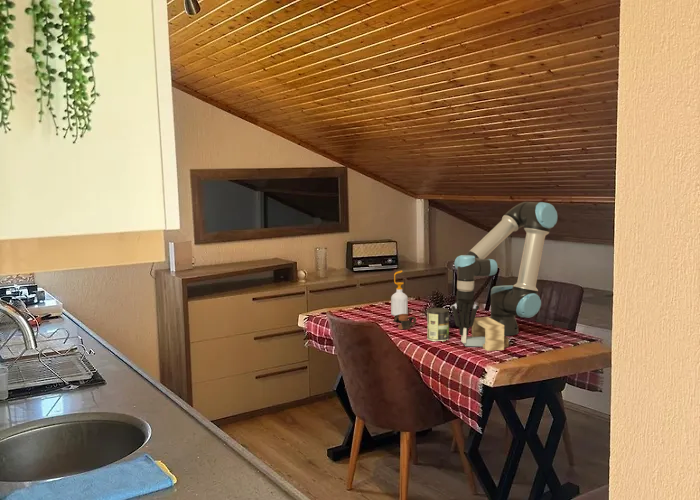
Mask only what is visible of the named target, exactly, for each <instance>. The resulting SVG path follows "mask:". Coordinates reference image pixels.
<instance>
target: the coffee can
mask: <svg viewBox="0 0 700 500" xmlns="http://www.w3.org/2000/svg"><path fill="white" fill-rule="evenodd" d="M426 313H427V318H426V319H427V323H426V325H427V326H426V328H427V331H426V332H427V335H426V336H427V337H426V340H428V341H431V342H436V341H442V342H447V341H446V340H448V341H449V340H450V309H449V308H445V307H429V308H427V309H426Z"/></svg>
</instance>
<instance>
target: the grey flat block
mask: <svg viewBox="0 0 700 500" xmlns="http://www.w3.org/2000/svg"><path fill="white" fill-rule="evenodd" d="M462 344H463V345H464V346H465V347H483V344H485V337H472V335H469V336H468V335H466V343H463V342H462Z"/></svg>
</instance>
